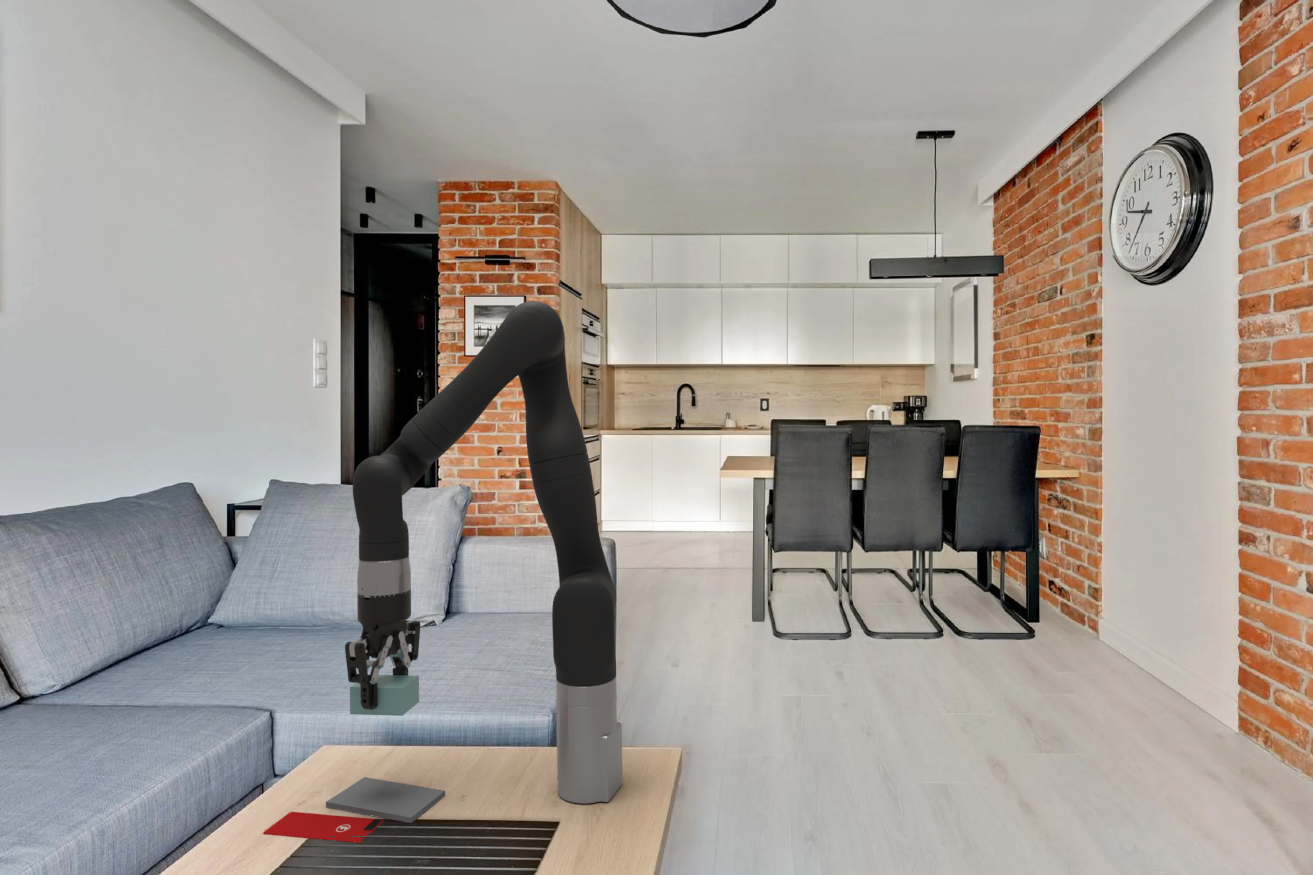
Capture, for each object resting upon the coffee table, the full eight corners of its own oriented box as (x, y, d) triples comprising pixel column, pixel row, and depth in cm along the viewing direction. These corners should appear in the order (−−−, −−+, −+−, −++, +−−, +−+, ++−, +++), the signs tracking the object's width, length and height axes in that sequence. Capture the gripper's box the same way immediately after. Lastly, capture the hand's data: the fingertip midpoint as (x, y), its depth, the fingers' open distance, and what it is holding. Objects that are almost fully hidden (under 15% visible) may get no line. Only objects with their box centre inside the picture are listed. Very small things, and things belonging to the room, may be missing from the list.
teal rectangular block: (369, 700, 108) (369, 674, 108) (419, 701, 107) (418, 675, 107) (350, 714, 102) (349, 686, 102) (402, 715, 101) (402, 688, 101)
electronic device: (261, 836, 96) (360, 846, 93) (261, 832, 96) (360, 842, 93) (290, 814, 102) (384, 822, 99) (290, 810, 102) (384, 818, 99)
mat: (445, 795, 106) (445, 790, 106) (411, 822, 98) (411, 817, 98) (364, 781, 111) (364, 776, 111) (325, 807, 103) (325, 801, 103)
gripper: (395, 578, 113) (396, 682, 113) (327, 596, 99) (328, 715, 99) (435, 580, 110) (436, 686, 110) (371, 600, 97) (372, 721, 97)
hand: (385, 699), depth 105 cm, fingers closed on teal rectangular block, 6 cm apart
